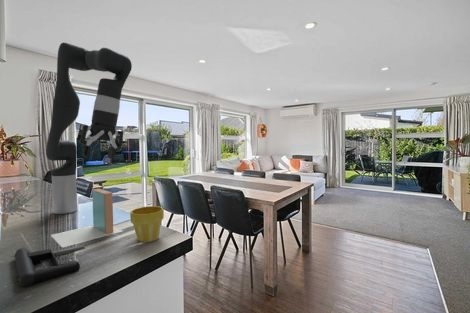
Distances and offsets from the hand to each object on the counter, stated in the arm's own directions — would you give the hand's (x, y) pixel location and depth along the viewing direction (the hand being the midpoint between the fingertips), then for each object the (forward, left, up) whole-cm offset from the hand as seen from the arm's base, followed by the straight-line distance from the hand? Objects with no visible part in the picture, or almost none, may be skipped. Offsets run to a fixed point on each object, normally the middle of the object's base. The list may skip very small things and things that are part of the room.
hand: (98, 157), depth 81 cm
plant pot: (+16, +9, -27) cm, 33 cm away
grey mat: (-3, -3, -27) cm, 27 cm away
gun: (+12, -16, -28) cm, 34 cm away
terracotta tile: (-3, +2, -26) cm, 26 cm away
